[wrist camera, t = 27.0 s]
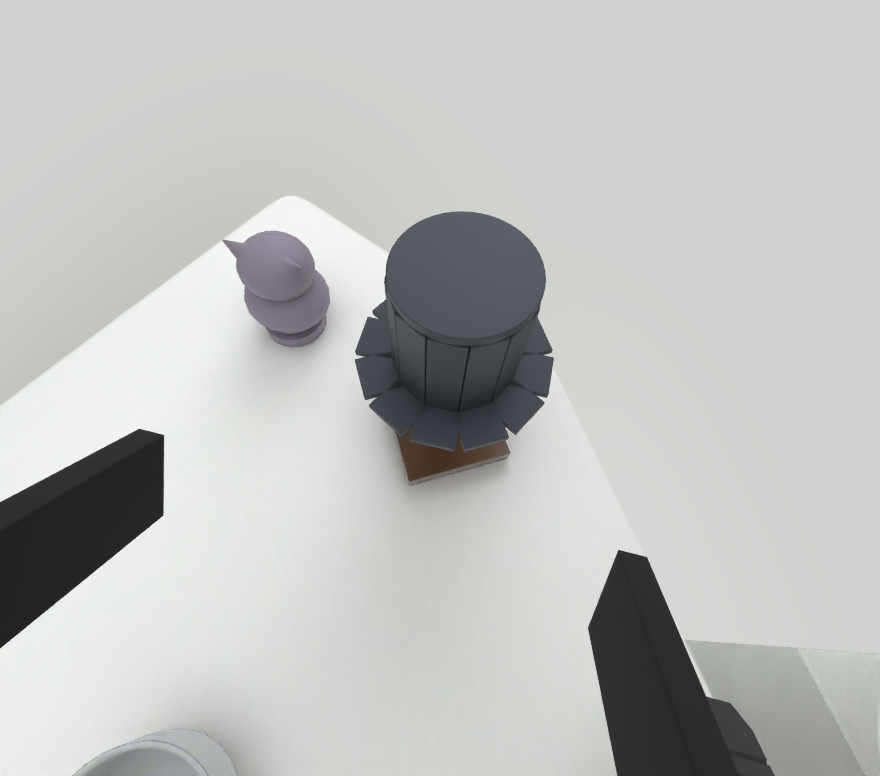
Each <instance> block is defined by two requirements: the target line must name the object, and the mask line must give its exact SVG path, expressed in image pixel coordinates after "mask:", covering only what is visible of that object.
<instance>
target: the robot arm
mask: <svg viewBox="0 0 880 776" xmlns="http://www.w3.org/2000/svg"><path fill="white" fill-rule="evenodd" d="M163 503H164V435H161V434H157V433H154V432H150V431H146V430H142V429H138V430H136V431H134V432H132V433H130V434H129V435H127V436H125V437H123V438H121V439H119V440H117V441H115V442H113V443H112V444H110V445H108V446H106V447H104V448H102V449H100V450H98V451H96V452H95V453H93V454H91V455H89V456H87V457H85V458H83V459H81V460H79V461H77V462H76V463H74V464H72V465H70V466H68V467H66V468H64V469H62V470H60V471H59V472H57V473H55V474H53V475H51V476H49V477H47V478H45V479H43V480H42V481H40V482H38V483H36V484H34V485H32V486H30V487H28V488H26V489H24V490H23V491H21V492H19V493H17V494H15V495H13V496H11V497H9V498H7V499H6V500H4V501H2V502H0V648H1V647H2V646H4V645H5V644H6V643H7V642H9V641H10V640H11V639H12V638H14V637H15V636H16V635H17V634H18V633H20V632H21V631H22V630H23V629H25V628H26V627H27V626H28V625H29V624H31V623H32V622H33V621H34V620H36V619H37V618H38V617H39V616H41V615H42V614H43V613H44V612H45V611H47V610H48V609H49V608H50V607H52V606H53V605H54V604H55V603H56V602H58V601H59V600H60V599H61V598H63V597H64V596H65V595H66V594H68V593H69V592H70V591H71V590H72V589H74V588H75V587H76V586H77V585H79V584H80V583H81V582H82V581H83V580H85V579H86V578H87V577H88V576H90V575H91V574H92V573H93V572H95V571H96V570H97V569H98V568H99V567H101V566H102V565H103V564H104V563H106V562H107V561H108V560H109V559H110V558H112V557H113V556H114V555H115V554H117V553H118V552H119V551H120V550H122V549H123V548H124V547H125V546H126V545H128V544H129V543H130V542H131V541H133V540H134V539H135V538H136V537H137V536H139V535H140V534H141V533H142V532H144V531H145V530H146V529H147V528H149V527H150V526H151V525H152V524H153V523H155V522H156V521H157V520H158V519H160V518H161V517H162V516H163ZM588 630H589V635H590V640H591V645H592V650H593V655H594V660H595V665H596V670H597V675H598V680H599V685H600V690H601V695H602V700H603V705H604V710H605V715H606V721H607V726H608V731H609V736H610V741H611V746H612V751H613V756H614V761H615V766H616V771H617V776H774V774H773V772H772V770H771V768H770V766H769V765H767V763H766V761H767V759H766V757H765V755H764V753H763V751H762V749H761V747H760V745H759V743H758V741H757V739H756V737H755V735H754V733H753V731H752V729H751V728H750V727H749V726H748V725H747V723H746V722H745V721H744V720H743V718H742V717H741V716H740V715H739V713H738V712H737V711H736V710H735V708H734V707H733V706H732V705H731V704H730V703H728V702H724V701H720V700H716V699H713V698H709V697H706V695H705V693H704V691H703V688H702V686H701V684H700V681H699V679H698V677H697V674H696V672H695V669H694V667H693V665H692V662H691V660H690V658H689V655H688V653H687V651H686V648H685V646H684V643H683V641H682V639H681V636H680V634H679V632H678V629H677V627H676V625H675V622H674V620H673V618H672V615H671V613H670V610H669V608H668V606H667V603H666V601H665V599H664V596H663V594H662V592H661V589H660V587H659V584H658V582H657V580H656V577H655V575H654V573H653V570H652V568H651V566H650V563H649V561H648V559H647V557H644V556H640V555H636V554H632V553H628V552H624V551H620V550H618V552H617V555H616V558H615V560H614V563H613V565H612V568H611V570H610V573H609V576H608V578H607V581H606V583H605V586H604V588H603V591H602V593H601V596H600V599H599V601H598V604H597V606H596V609H595V611H594V614H593V617H592V619H591V622H590V624H589V627H588Z"/></svg>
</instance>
